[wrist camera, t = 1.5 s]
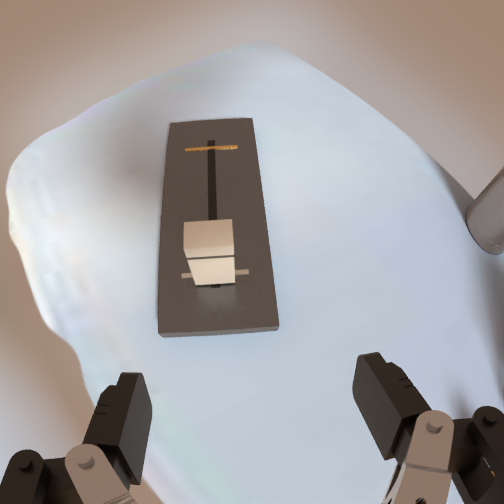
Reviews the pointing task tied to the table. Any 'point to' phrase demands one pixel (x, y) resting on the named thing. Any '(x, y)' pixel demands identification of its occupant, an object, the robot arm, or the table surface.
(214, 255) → the fader cap
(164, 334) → the grey fader track base
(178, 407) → the table surface
